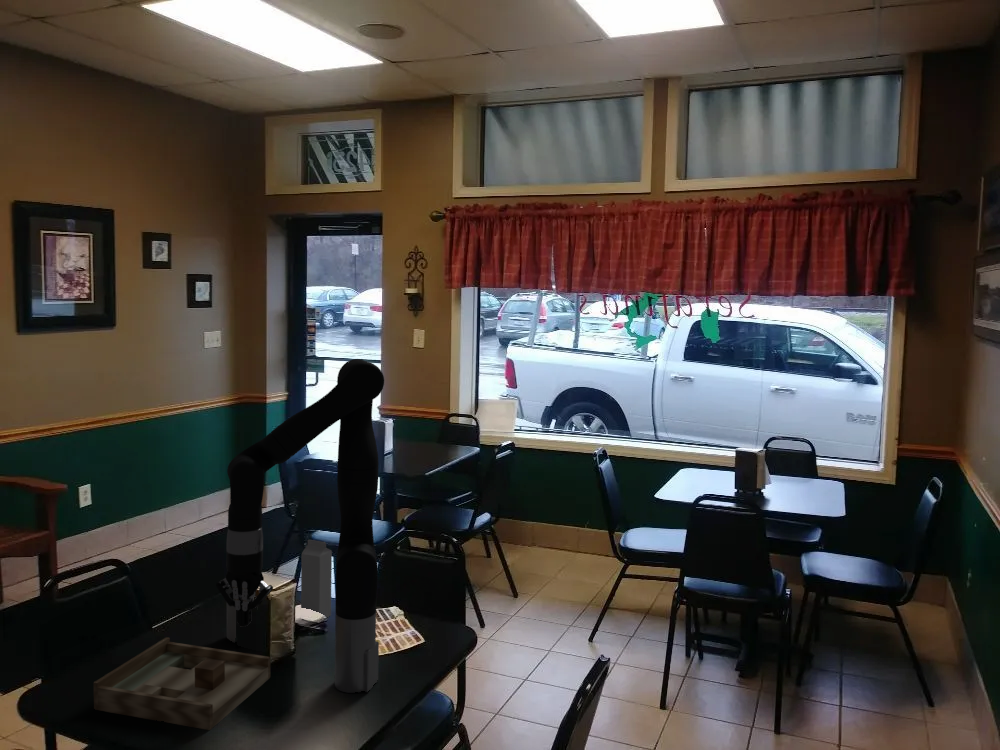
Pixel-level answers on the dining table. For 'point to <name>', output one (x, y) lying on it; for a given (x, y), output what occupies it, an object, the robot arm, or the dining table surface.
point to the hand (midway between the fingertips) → (244, 625)
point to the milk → (316, 577)
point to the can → (231, 623)
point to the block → (209, 674)
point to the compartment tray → (179, 685)
